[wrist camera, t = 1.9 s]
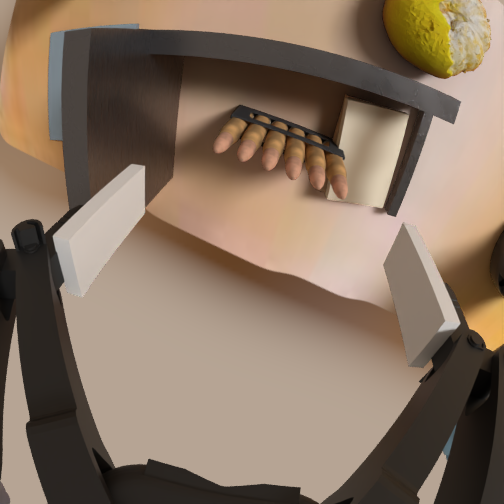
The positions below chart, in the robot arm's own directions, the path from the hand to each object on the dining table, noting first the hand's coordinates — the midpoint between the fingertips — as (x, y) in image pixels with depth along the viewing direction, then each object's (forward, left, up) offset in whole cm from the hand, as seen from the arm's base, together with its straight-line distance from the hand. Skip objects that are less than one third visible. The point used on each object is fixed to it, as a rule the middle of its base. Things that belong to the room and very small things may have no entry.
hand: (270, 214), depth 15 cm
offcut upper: (-8, 0, -16) cm, 18 cm away
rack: (0, 0, -18) cm, 18 cm away
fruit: (-11, -15, -18) cm, 26 cm away
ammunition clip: (0, 0, -18) cm, 18 cm away
